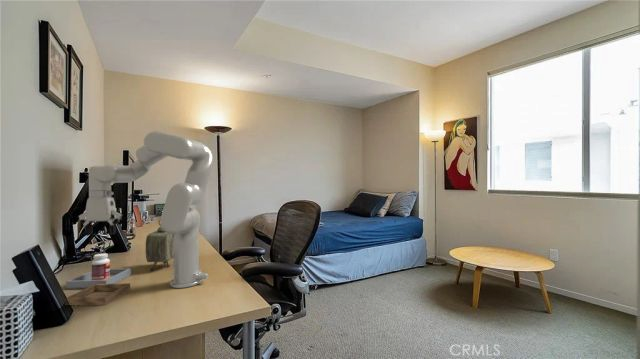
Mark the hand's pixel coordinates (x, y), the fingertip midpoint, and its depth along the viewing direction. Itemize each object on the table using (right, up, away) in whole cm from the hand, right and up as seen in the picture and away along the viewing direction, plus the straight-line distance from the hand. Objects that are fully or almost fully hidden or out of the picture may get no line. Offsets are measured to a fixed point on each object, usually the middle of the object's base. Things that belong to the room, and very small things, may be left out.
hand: (100, 234), depth 120 cm
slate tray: (0, -20, 0) cm, 20 cm away
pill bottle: (0, -20, 0) cm, 20 cm away
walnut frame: (+13, -20, -17) cm, 29 cm away
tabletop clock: (+16, -20, +19) cm, 33 cm away
